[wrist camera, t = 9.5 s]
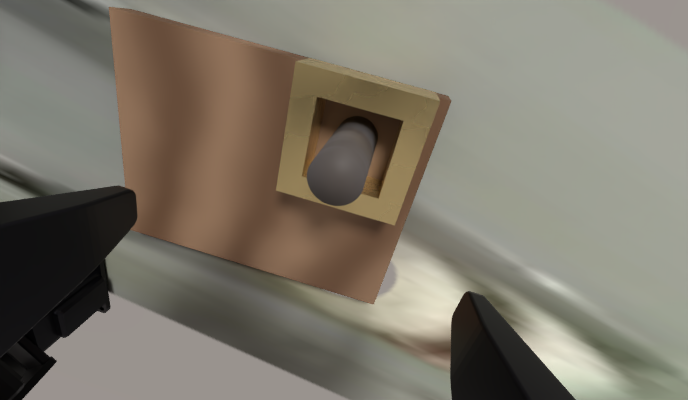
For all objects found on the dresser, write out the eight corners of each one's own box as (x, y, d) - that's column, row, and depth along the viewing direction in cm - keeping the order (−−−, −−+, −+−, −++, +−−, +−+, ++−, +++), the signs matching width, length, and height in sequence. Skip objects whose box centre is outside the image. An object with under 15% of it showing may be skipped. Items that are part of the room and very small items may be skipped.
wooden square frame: (290, 173, 19) (275, 190, 17) (310, 58, 16) (295, 61, 14) (396, 204, 19) (394, 225, 17) (435, 92, 16) (440, 101, 14)
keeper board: (144, 219, 25) (47, 285, 18) (130, 8, 18) (-28, -7, 12) (375, 289, 24) (363, 386, 17) (447, 96, 17) (472, 132, 11)
